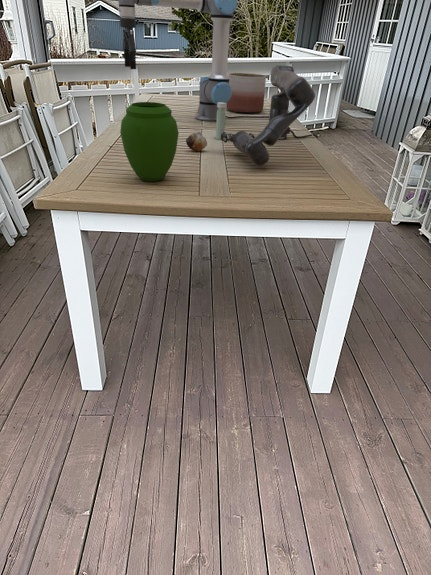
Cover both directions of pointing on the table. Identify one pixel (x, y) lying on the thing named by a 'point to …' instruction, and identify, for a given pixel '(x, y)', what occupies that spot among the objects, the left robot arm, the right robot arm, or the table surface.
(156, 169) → the vase
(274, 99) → the right robot arm
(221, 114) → the bottle
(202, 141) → the seashell
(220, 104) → the cap
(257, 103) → the planter
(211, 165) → the table surface
